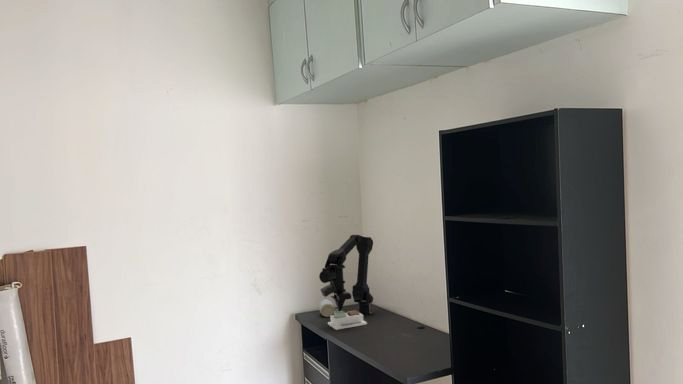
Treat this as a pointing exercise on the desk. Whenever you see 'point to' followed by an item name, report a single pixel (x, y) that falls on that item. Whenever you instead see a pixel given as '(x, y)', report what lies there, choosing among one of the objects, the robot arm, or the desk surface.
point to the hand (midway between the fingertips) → (339, 311)
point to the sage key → (339, 314)
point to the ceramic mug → (327, 308)
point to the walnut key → (352, 313)
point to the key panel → (346, 321)
